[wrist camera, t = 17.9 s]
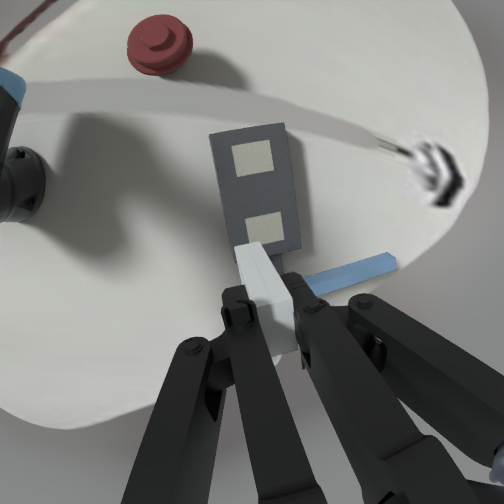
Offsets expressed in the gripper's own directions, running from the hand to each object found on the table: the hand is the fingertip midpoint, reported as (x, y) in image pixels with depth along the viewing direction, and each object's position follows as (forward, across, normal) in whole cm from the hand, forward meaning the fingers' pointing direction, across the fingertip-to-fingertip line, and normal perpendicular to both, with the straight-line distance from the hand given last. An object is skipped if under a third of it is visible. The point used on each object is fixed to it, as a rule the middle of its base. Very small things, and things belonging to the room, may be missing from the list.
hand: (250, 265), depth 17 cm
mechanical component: (+35, -5, +25) cm, 43 cm away
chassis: (+34, +6, -2) cm, 35 cm away
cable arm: (+25, +16, -18) cm, 35 cm away
